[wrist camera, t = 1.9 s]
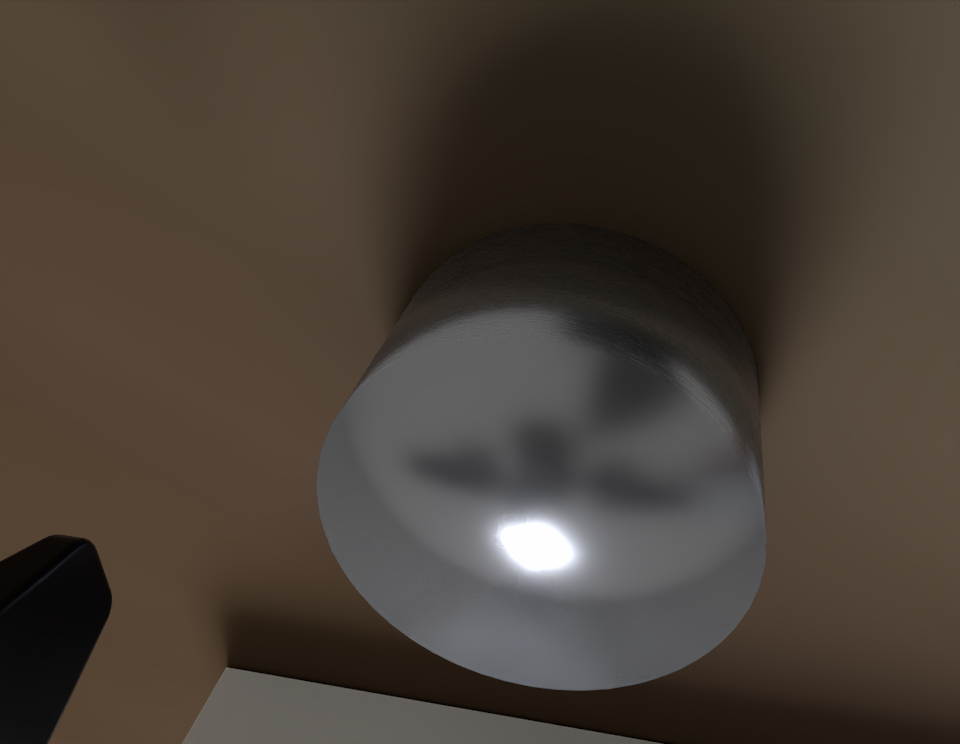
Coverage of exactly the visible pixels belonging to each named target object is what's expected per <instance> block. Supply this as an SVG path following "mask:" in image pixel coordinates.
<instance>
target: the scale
mask: <svg viewBox="0 0 960 744" xmlns="http://www.w3.org/2000/svg"><path fill="white" fill-rule="evenodd" d="M182 744H662V743H657V742H651V741H645V740H639V739H634V738H628V737H622V736H616V735H611V734H605V733H599V732H594V731H588V730H582V729H576V728H571V727H565V726H559V725H554V724H548V723H542V722H536V721H531V720H525V719H519V718H514V717H508V716H502V715H496V714H491V713H485V712H479V711H474V710H468V709H462V708H456V707H451V706H445V705H439V704H434V703H428V702H422V701H416V700H411V699H405V698H399V697H394V696H388V695H382V694H376V693H371V692H365V691H359V690H353V689H348V688H342V687H336V686H331V685H325V684H319V683H313V682H308V681H302V680H296V679H291V678H285V677H279V676H273V675H268V674H262V673H256V672H251V671H245V670H239V669H233V668H228V667H226V668H225V670H224V672H223V674H222V675H221V677H220V679H219V681H218V682H217V684H216V686H215V687H214V689H213V691H212V693H211V694H210V696H209V698H208V699H207V701H206V703H205V705H204V706H203V708H202V710H201V712H200V713H199V715H198V717H197V718H196V720H195V722H194V724H193V725H192V727H191V729H190V730H189V732H188V734H187V736H186V737H185V739H184V741H183V743H182Z"/></svg>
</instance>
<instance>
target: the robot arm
mask: <svg viewBox="0 0 960 744" xmlns="http://www.w3.org/2000/svg"><path fill="white" fill-rule="evenodd" d="M111 604H112V594H111V590H110V587H109V584H108V581H107V578H106V575H105V573H104V570H103V567H102V564H101V561H100V558H99V555H98V553H97V550H96V548H95V546H94V544H93V543H92V542H91V541H89V540H87V539H85V538H79V537H72V536H65V535H52V536H48V537H46V538H44V539H42V540H40V541H38V542H36V543H34V544H33V545H31V546H29V547H27V548H25V549H23V550H21V551H19V552H17V553H15V554H14V555H12V556H10V557H8V558H6V559H4V560H2V561H0V744H48V742H49V740H50V738H51V736H52V734H53V732H54V730H55V728H56V726H57V724H58V722H59V720H60V718H61V716H62V714H63V712H64V710H65V708H66V705H67V703H68V701H69V699H70V697H71V695H72V693H73V691H74V689H75V687H76V684H77V682H78V680H79V678H80V676H81V674H82V672H83V670H84V668H85V665H86V663H87V661H88V659H89V657H90V655H91V653H92V651H93V649H94V646H95V644H96V642H97V640H98V638H99V636H100V634H101V632H102V630H103V628H104V625H105V623H106V621H107V619H108V616H109V614H110V610H111Z"/></svg>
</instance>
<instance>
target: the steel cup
mask: <svg viewBox="0 0 960 744" xmlns="http://www.w3.org/2000/svg"><path fill="white" fill-rule="evenodd" d="M316 487H317V499H318V509H319V513H320V517H321V521H322V525H323V529H324V532H325V535H326V537H327V540H328V542H329V545H330V547H331V550H332V552H333V554H334V555H335V557H336V559H337V561H338V563H339V564H340V566H341V568H342V570H343V571H344V573H345V574H346V576H347V577H348V578H349V580H350V581H351V583H352V584H353V585H354V587H355V588H356V589H357V591H358V592H359V593H360V594H361V595H362V596H363V597H364V598H365V600H366V601H367V602H368V603H369V604H370V605H371V606H372V607H373V608H374V609H375V610H376V611H377V612H378V613H379V614H380V615H381V616H383V617H384V618H385V619H386V620H387V621H388V622H389V623H390V624H391V625H393V626H394V627H395V628H397V629H398V630H399V631H401V632H402V633H403V634H405V635H406V636H408V637H409V638H410V639H412V640H413V641H415V642H416V643H418V644H420V645H421V646H423V647H425V648H426V649H428V650H430V651H431V652H433V653H435V654H437V655H439V656H441V657H443V658H445V659H447V660H449V661H451V662H453V663H455V664H457V665H460V666H462V667H465V668H467V669H470V670H472V671H475V672H477V673H480V674H483V675H486V676H490V677H493V678H496V679H500V680H503V681H507V682H511V683H516V684H521V685H526V686H530V687H538V688H547V689H555V690H580V691H584V690H600V689H612V688H618V687H624V686H630V685H635V684H639V683H643V682H646V681H650V680H654V679H657V678H660V677H662V676H665V675H667V674H670V673H672V672H675V671H677V670H680V669H682V668H684V667H685V666H687V665H689V664H691V663H693V662H694V661H696V660H698V659H700V658H701V657H703V656H704V655H706V654H707V653H708V652H710V651H711V650H712V649H714V648H715V647H716V646H718V645H719V644H720V643H721V642H722V641H723V640H724V639H725V638H726V637H727V636H728V635H729V634H730V633H731V632H732V631H733V630H734V629H735V628H736V627H737V625H738V624H739V622H740V621H741V620H742V618H743V617H744V615H745V614H746V613H747V611H748V610H749V608H750V606H751V604H752V602H753V600H754V598H755V596H756V593H757V591H758V589H759V586H760V582H761V579H762V575H763V571H764V568H765V558H766V546H767V538H766V519H765V500H764V482H763V463H762V444H761V425H760V406H759V389H758V378H757V369H756V365H755V362H754V358H753V354H752V350H751V347H750V345H749V342H748V340H747V338H746V335H745V333H744V331H743V328H742V326H741V325H740V323H739V322H738V320H737V318H736V317H735V315H734V313H733V312H732V310H731V309H730V307H729V306H728V305H727V303H726V302H725V301H724V300H723V299H722V297H721V296H720V295H719V294H718V293H717V291H716V290H715V289H714V288H713V287H712V286H711V285H710V284H709V283H708V282H707V281H706V280H704V279H703V278H702V277H701V276H700V275H699V274H698V273H697V272H696V271H695V270H693V269H692V268H690V267H689V266H687V265H686V264H685V263H683V262H682V261H680V260H679V259H677V258H676V257H675V256H673V255H671V254H669V253H668V252H666V251H664V250H662V249H660V248H658V247H656V246H654V245H652V244H650V243H648V242H646V241H643V240H640V239H638V238H635V237H632V236H630V235H627V234H624V233H620V232H616V231H612V230H608V229H604V228H600V227H593V226H585V225H576V224H541V225H534V226H526V227H519V228H515V229H512V230H508V231H504V232H500V233H497V234H494V235H491V236H489V237H486V238H484V239H482V240H479V241H477V242H474V243H472V244H471V245H469V246H467V247H466V248H464V249H462V250H461V251H459V252H457V253H455V254H454V255H452V256H451V257H450V258H449V259H447V260H446V261H445V262H444V263H442V264H441V265H440V266H439V267H437V268H436V269H435V270H434V271H433V272H432V274H431V275H430V276H429V277H428V278H427V279H426V280H425V281H424V282H423V283H422V284H421V286H420V287H419V289H418V290H417V292H416V293H415V295H414V296H413V298H412V299H411V301H410V302H409V304H408V306H407V307H406V309H405V310H404V312H403V313H402V315H401V317H400V318H399V320H398V321H397V323H396V324H395V326H394V328H393V329H392V331H391V332H390V334H389V335H388V337H387V339H386V340H385V342H384V343H383V345H382V346H381V348H380V350H379V351H378V353H377V354H376V356H375V357H374V359H373V361H372V362H371V364H370V365H369V367H368V368H367V370H366V372H365V373H364V375H363V376H362V378H361V379H360V381H359V383H358V384H357V386H356V387H355V389H354V390H353V392H352V394H351V395H350V397H349V398H348V400H347V401H346V403H345V405H344V406H343V408H342V409H341V411H340V412H339V414H338V416H337V417H336V419H335V420H334V422H333V423H332V426H331V428H330V430H329V432H328V435H327V437H326V439H325V441H324V444H323V447H322V451H321V455H320V459H319V463H318V473H317V486H316Z"/></svg>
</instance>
